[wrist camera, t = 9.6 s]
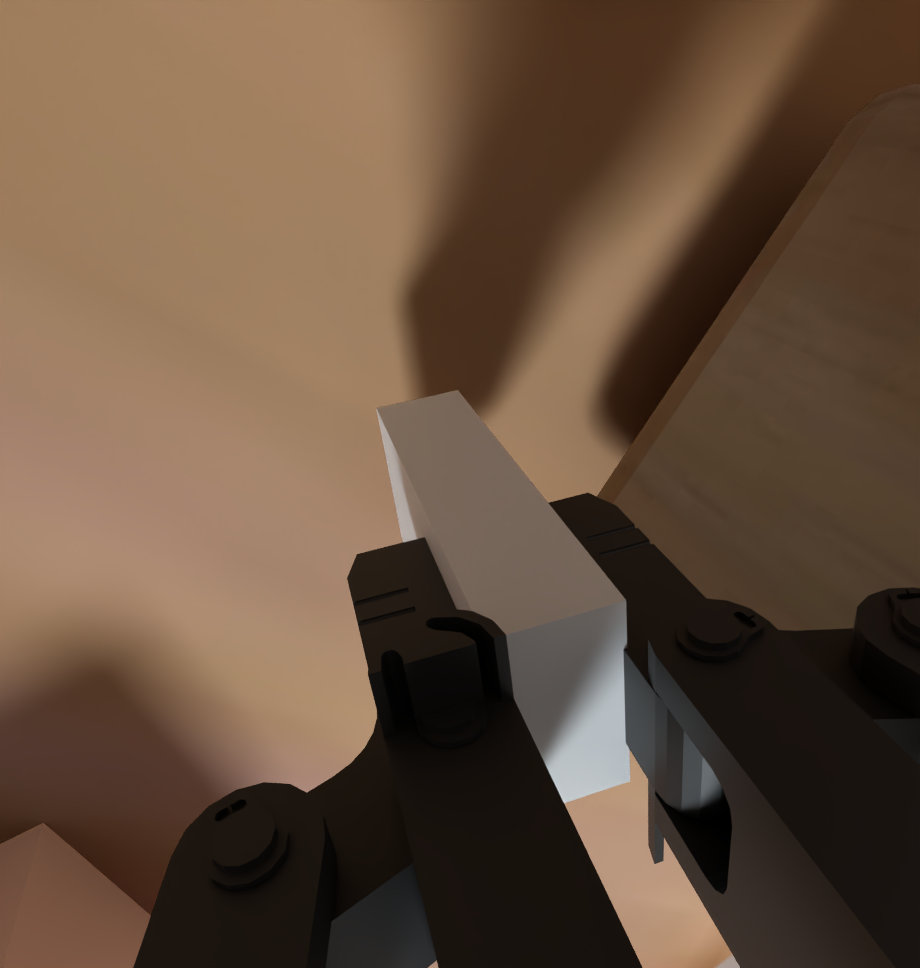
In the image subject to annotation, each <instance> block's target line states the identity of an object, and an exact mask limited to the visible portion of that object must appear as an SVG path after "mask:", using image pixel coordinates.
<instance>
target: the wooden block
mask: <svg viewBox="0 0 920 968" xmlns="http://www.w3.org/2000/svg"><path fill="white" fill-rule="evenodd" d="M597 497H598V498H601V499H603V500H605V501H607V502H610V503H612V504H614V505H616V506H617V507H618V508H619V509H620V510H621V511H622V512H623V513H624V514H625V515H626V516H627V517H628V518H629V519H630V520H631V521H632V522H633V523H634V525H635V528H639V529H640V530H641V531H642V532H643V533H644V535H645V536H646V537H647V538H648V539H649V541H650V544H654V545H655V546H656V547H657V548H658V549H659V550H660V551H661V552H662V553H663V554H664V555H665V556H666V557H667V558H668V559H669V560H670V561H671V562H672V563H673V564H674V565H675V566H676V568H677V569H678V570H679V571H680V572H681V573H682V574H683V575H684V576H685V577H686V578H687V579H688V580H689V581H690V582H691V583H692V584H693V585H694V586H695V587H696V588H697V589H698V590H699V591H700V592H701V593H702V594H703V595H704V596H705V597H706V598H707V599H718V600H728V601H730V602H733V603H736V604H739V605H742V606H745V607H748V608H751V609H752V610H754V611H755V612H757V613H758V614H760V615H761V616H762V617H764V618H765V619H767V620H768V621H770V622H771V623H772V624H773V625H774V626H775V627H776V628H777V629H778V630H792V631H800V630H824V629H847V628H854V622H855V616H856V610H857V606H858V605H859V604H860V603H861V602H862V601H863V600H864V599H865V598H866V597H867V596H868V595H871V594H874V593H877V592H879V591H882V590H885V589H888V588H910V587H915V588H920V84H914V83H912V84H909V85H906V86H903V87H900V88H896V89H893V90H890V91H887V92H883V93H880V94H879V95H878V96H877V97H875V98H874V99H873V100H872V101H871V102H870V103H869V104H867V105H866V106H865V107H864V108H863V109H862V110H861V111H859V112H858V113H857V114H856V115H855V116H854V117H852V118H851V119H850V120H849V121H848V122H847V124H846V125H845V127H844V128H843V130H842V131H841V132H840V134H839V135H838V137H837V138H836V140H835V141H834V143H833V144H832V146H831V147H830V149H829V150H828V152H827V153H826V155H825V156H824V158H823V159H822V161H821V162H820V164H819V165H818V167H817V168H816V170H815V171H814V173H813V174H812V176H811V177H810V179H809V180H808V182H807V183H806V185H805V186H804V188H803V189H802V191H801V192H800V194H799V195H798V197H797V198H796V200H795V201H794V203H793V204H792V206H791V207H790V209H789V210H788V212H787V213H786V215H785V216H784V218H783V219H782V221H781V222H780V224H779V225H778V227H777V228H776V230H775V231H774V233H773V234H772V236H771V237H770V239H769V240H768V242H767V243H766V245H765V246H764V248H763V249H762V251H761V252H760V254H759V255H758V257H757V258H756V260H755V261H754V263H753V264H752V265H751V267H750V268H749V270H748V271H747V273H746V274H745V276H744V277H743V279H742V280H741V282H740V283H739V285H738V286H737V288H736V289H735V291H734V292H733V294H732V295H731V297H730V298H729V300H728V301H727V303H726V304H725V306H724V307H723V309H722V310H721V312H720V313H719V315H718V316H717V318H716V319H715V321H714V322H713V324H712V325H711V327H710V328H709V330H708V331H707V333H706V334H705V336H704V337H703V339H702V340H701V342H700V343H699V345H698V346H697V348H696V349H695V351H694V352H693V354H692V355H691V357H690V358H689V360H688V361H687V363H686V364H685V366H684V367H683V369H682V370H681V372H680V373H679V375H678V376H677V378H676V379H675V381H674V382H673V384H672V385H671V387H670V388H669V390H668V391H667V393H666V394H665V396H664V397H663V398H662V400H661V401H660V403H659V404H658V406H657V407H656V409H655V410H654V412H653V413H652V415H651V416H650V418H649V419H648V421H647V422H646V424H645V425H644V427H643V428H642V430H641V431H640V433H639V434H638V436H637V437H636V439H635V440H634V442H633V443H632V445H631V446H630V448H629V449H628V451H627V452H626V454H625V455H624V457H623V458H622V460H621V461H620V463H619V464H618V466H617V467H616V469H615V470H614V472H613V473H612V475H611V476H610V478H609V479H608V481H607V482H606V484H605V485H604V487H603V488H602V490H601V491H600V493H599V494H598V496H597Z"/></svg>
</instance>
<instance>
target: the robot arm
mask: <svg viewBox="0 0 920 968" xmlns="http://www.w3.org/2000/svg"><path fill="white" fill-rule="evenodd" d="M376 410H377V415H378V420H379V425H380V430H381V435H382V440H383V445H384V450H385V455H386V460H387V465H388V470H389V475H390V480H391V485H392V490H393V496H394V501H395V506H396V511H397V516H398V521H399V526H400V531H401V536H402V539H403V543H399V544H395V545H392V546H388V547H384V548H380V549H376V550H372V551H368V552H364V553H360V554H357V555H356V558H355V560H354V563H353V565H352V568H351V570H350V573H349V575H348V578H347V579H348V584H349V588H350V592H351V597H352V601H353V605H354V609H355V614H356V618H357V622H358V626H359V631H360V635H361V639H362V643H363V648H364V652H365V656H366V660H367V665H368V676H369V680H370V684H371V688H372V692H373V696H374V700H375V704H376V708H377V720H376V724H375V728H374V732H373V734H372V736H371V738H370V739H369V741H368V743H367V745H366V746H365V748H364V749H363V750H362V752H361V753H360V754H359V755H358V756H357V757H356V758H355V759H354V760H353V762H352V763H351V764H349V765H348V766H347V767H345V768H344V769H343V770H341V771H340V772H339V773H337V774H336V775H335V776H333V777H332V778H330V779H329V780H327V781H325V782H324V783H322V784H320V785H319V786H317V787H316V788H314V789H312V790H311V791H309V792H308V793H306V792H304V791H302V790H300V789H298V788H297V787H295V786H293V785H291V784H281V783H260V784H257V785H253V786H249V787H246V788H242V789H238V790H235V791H234V792H232V793H230V794H229V795H227V796H225V797H223V798H222V799H220V800H218V801H217V802H215V803H213V804H212V805H210V806H208V807H207V808H206V809H205V811H204V812H203V813H202V814H201V815H200V816H199V817H198V818H197V819H196V820H195V821H194V822H193V823H192V824H191V825H190V826H189V827H188V828H187V829H186V830H185V832H184V834H183V836H182V838H181V839H180V841H179V843H178V845H177V847H176V849H175V851H174V852H173V854H172V856H171V859H170V862H169V865H168V867H167V870H166V873H165V876H164V879H163V882H162V885H161V888H160V891H159V894H158V897H157V900H156V902H155V905H154V908H153V911H152V914H151V917H150V920H149V923H148V926H147V929H146V932H145V935H144V937H143V940H142V943H141V946H140V949H139V952H138V955H137V958H136V961H135V964H134V967H133V968H428V967H429V966H430V965H431V964H433V963H434V962H435V961H436V960H437V963H438V967H439V968H642V966H641V964H640V962H639V959H638V957H637V955H636V953H635V951H634V949H633V947H632V945H631V943H630V941H629V938H628V936H627V934H626V932H625V930H624V928H623V926H622V924H621V922H620V920H619V918H618V915H617V913H616V911H615V909H614V907H613V905H612V903H611V901H610V899H609V897H608V894H607V892H606V890H605V888H604V886H603V884H602V882H601V880H600V878H599V876H598V874H597V871H596V869H595V867H594V865H593V863H592V861H591V859H590V857H589V855H588V853H587V850H586V848H585V846H584V844H583V842H582V840H581V838H580V836H579V834H578V832H577V830H576V827H575V825H574V823H573V821H572V819H571V817H570V815H569V813H568V811H567V809H566V806H565V804H564V803H566V802H569V801H572V800H575V799H578V798H581V797H584V796H587V795H590V794H593V793H596V792H599V791H602V790H605V789H608V788H611V787H614V786H617V785H620V784H623V783H626V782H629V781H630V760H629V749H630V751H631V752H632V754H633V755H634V757H635V759H636V760H637V762H638V764H639V765H640V767H641V768H642V770H643V772H644V773H645V775H646V776H647V778H648V840H649V848H650V851H651V854H652V858H653V861H654V864H656V863H659V862H662V861H663V851H664V838H665V840H666V842H667V843H668V845H669V847H670V848H671V850H672V852H673V853H674V855H675V857H676V859H677V860H678V862H679V864H680V865H681V867H682V869H683V871H684V872H685V874H686V876H687V877H688V879H689V881H690V882H691V884H692V886H693V888H694V889H695V891H696V893H697V894H698V896H699V898H700V900H701V901H702V903H703V905H704V906H705V908H706V910H707V911H708V913H709V915H710V917H711V918H712V920H713V922H714V923H715V925H716V927H717V928H718V930H719V932H720V934H721V935H722V937H723V939H724V940H725V942H726V944H727V946H728V947H729V949H730V951H731V952H732V954H733V956H734V957H735V959H736V961H737V963H738V964H739V966H740V968H920V588H915V587H910V588H888V589H885V590H882V591H879V592H877V593H874V594H871V595H868V596H867V597H866V598H865V599H864V600H863V601H862V602H861V603H860V604H859V605H858V606H857V610H856V616H855V622H854V628H847V629H824V630H800V631H792V630H778V629H777V628H776V627H775V626H774V625H773V624H772V623H771V622H770V621H768V620H767V619H765V618H764V617H762V616H761V615H760V614H758V613H757V612H755V611H754V610H752V609H751V608H748V607H745V606H742V605H739V604H736V603H733V602H730V601H728V600H718V599H707V598H706V597H705V596H704V595H703V594H702V593H701V592H700V591H699V590H698V589H697V588H696V587H695V586H694V585H693V584H692V583H691V582H690V581H689V580H688V579H687V578H686V577H685V576H684V575H683V574H682V573H681V572H680V571H679V570H678V569H677V568H676V566H675V565H674V564H673V563H672V562H671V561H670V560H669V559H668V558H667V557H666V556H665V555H664V554H663V553H662V552H661V551H660V550H659V549H658V548H657V547H656V546H655V545H654V544H650V541H649V539H648V538H647V537H646V536H645V535H644V533H643V532H642V531H641V530H640V529H639V528H635V525H634V523H633V522H632V521H631V520H630V519H629V518H628V517H627V516H626V515H625V514H624V513H623V512H622V511H621V510H620V509H619V508H618V507H617V506H616V505H614V504H612V503H610V502H607V501H605V500H603V499H601V498H598V497H596V496H594V495H592V494H590V493H585V494H581V495H577V496H573V497H570V498H566V499H562V500H558V501H554V502H550V503H548V502H547V501H546V500H545V498H544V497H543V496H542V495H541V493H540V492H539V491H538V490H537V488H536V487H535V486H534V485H533V483H532V482H531V481H530V480H529V478H528V477H527V476H526V475H525V473H524V472H523V471H522V470H521V468H520V467H519V466H518V465H517V463H516V462H515V461H514V460H513V458H512V457H511V456H510V455H509V453H508V452H507V451H506V450H505V448H504V447H503V446H502V445H501V443H500V442H499V441H498V440H497V438H496V437H495V436H494V435H493V433H492V432H491V431H490V430H489V428H488V427H487V426H486V425H485V423H484V422H483V421H482V420H481V418H480V417H479V416H478V415H477V413H476V412H475V411H474V410H473V408H472V407H471V406H470V405H469V403H468V402H467V401H466V400H465V398H464V397H463V396H462V395H461V393H460V392H459V391H458V390H456V391H451V392H447V393H442V394H437V395H433V396H428V397H424V398H419V399H415V400H410V401H406V402H401V403H397V404H392V405H388V406H383V407H379V408H376Z"/></svg>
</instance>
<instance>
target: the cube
mask: <svg viewBox="0 0 920 968" xmlns="http://www.w3.org/2000/svg"><path fill="white" fill-rule="evenodd" d="M150 917H151V915H150V914H149V913H147V912H146V911H145V910H144V909H143V908H142V907H140V906H139V905H138V904H137V903H136V902H135V901H133V900H132V899H131V898H130V897H129V896H128V895H127V894H125V893H124V892H123V891H122V890H121V889H120V888H118V887H117V886H116V885H115V884H114V883H113V882H111V881H110V880H109V879H108V878H107V877H106V876H105V875H103V874H102V873H101V872H100V871H99V870H98V869H96V868H95V867H94V866H93V865H92V864H91V863H89V862H88V861H87V860H86V859H85V858H84V857H83V856H81V855H80V854H79V853H78V852H77V851H76V850H74V849H73V848H72V847H71V846H70V845H69V844H67V843H66V842H65V841H64V840H63V839H62V838H61V837H59V836H58V835H57V834H56V833H55V832H54V831H52V830H51V829H50V828H49V827H48V826H47V825H45V824H44V823H41V824H39V825H37V826H35V827H33V828H31V829H29V830H27V831H25V832H23V833H21V834H19V835H17V836H15V837H13V838H11V839H9V840H7V841H5V842H3V843H1V844H0V968H133V967H134V964H135V961H136V958H137V955H138V952H139V949H140V946H141V943H142V940H143V937H144V935H145V932H146V929H147V926H148V923H149V920H150Z"/></svg>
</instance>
